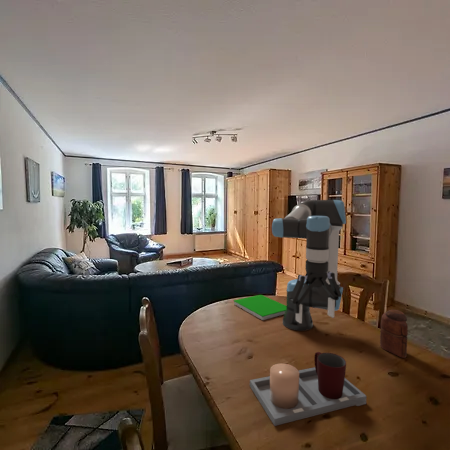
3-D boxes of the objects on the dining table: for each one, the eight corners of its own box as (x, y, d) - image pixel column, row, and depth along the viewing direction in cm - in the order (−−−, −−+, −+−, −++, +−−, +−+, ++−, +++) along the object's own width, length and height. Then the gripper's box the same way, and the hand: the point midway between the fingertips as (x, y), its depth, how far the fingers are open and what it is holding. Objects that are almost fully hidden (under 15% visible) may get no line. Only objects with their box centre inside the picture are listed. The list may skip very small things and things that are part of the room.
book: (262, 321, 150) (262, 316, 150) (233, 305, 174) (233, 300, 174) (292, 313, 162) (292, 308, 162) (261, 298, 186) (261, 294, 186)
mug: (304, 381, 98) (305, 350, 97) (324, 375, 102) (325, 346, 101) (329, 404, 87) (330, 370, 86) (350, 397, 90) (352, 364, 90)
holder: (328, 371, 105) (329, 363, 105) (366, 403, 88) (366, 395, 88) (249, 387, 96) (249, 379, 95) (274, 427, 79) (274, 418, 78)
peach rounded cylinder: (289, 387, 95) (289, 361, 94) (304, 405, 87) (305, 377, 86) (264, 392, 92) (265, 366, 92) (277, 411, 84) (278, 382, 83)
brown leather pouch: (412, 355, 116) (415, 313, 115) (403, 359, 113) (406, 316, 112) (384, 343, 127) (386, 304, 125) (375, 346, 124) (377, 306, 122)
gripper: (338, 255, 106) (336, 310, 108) (279, 260, 97) (278, 319, 100) (353, 259, 98) (351, 318, 101) (291, 265, 90) (290, 328, 93)
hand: (315, 318), depth 100 cm, fingers open, 13 cm apart
